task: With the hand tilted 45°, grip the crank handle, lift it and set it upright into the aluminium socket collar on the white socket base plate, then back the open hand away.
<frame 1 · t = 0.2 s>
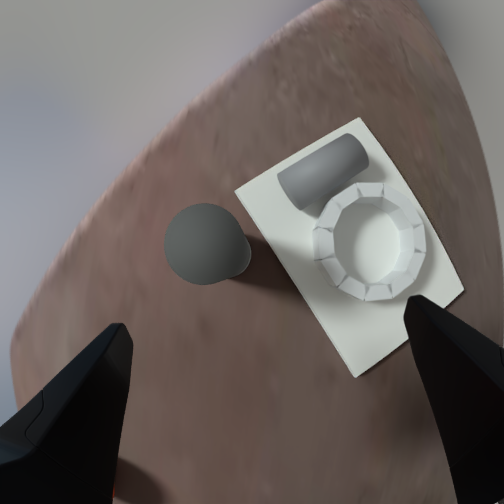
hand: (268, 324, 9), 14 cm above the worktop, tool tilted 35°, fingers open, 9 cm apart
crank handle: (227, 253, 24), on the worktop
white socket base plate: (360, 244, 23), on the worktop
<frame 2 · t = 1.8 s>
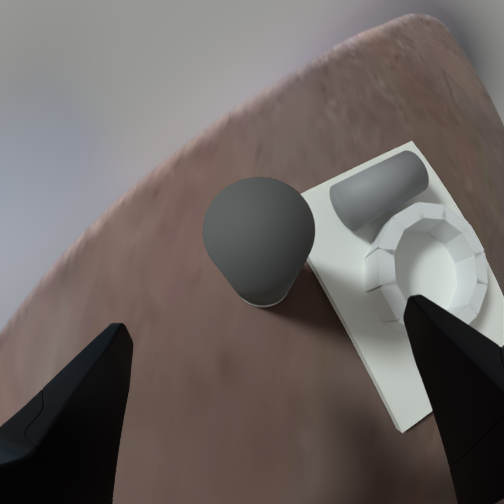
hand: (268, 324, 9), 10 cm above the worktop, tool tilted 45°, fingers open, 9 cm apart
crank handle: (262, 278, 20), on the worktop
white socket base plate: (414, 278, 19), on the worktop
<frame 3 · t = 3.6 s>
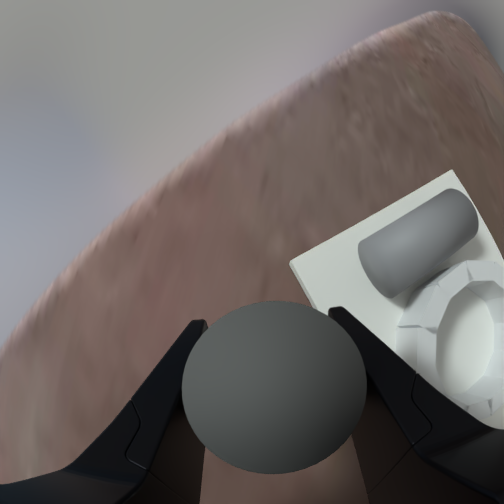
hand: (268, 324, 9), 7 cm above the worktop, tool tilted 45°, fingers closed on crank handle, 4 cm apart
crank handle: (269, 352, 15), on the worktop, touching gripper
white socket base plate: (448, 342, 15), on the worktop
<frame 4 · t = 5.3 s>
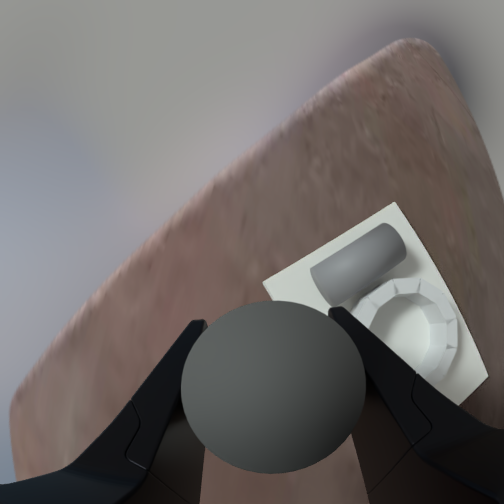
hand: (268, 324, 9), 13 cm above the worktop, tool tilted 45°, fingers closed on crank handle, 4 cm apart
crank handle: (269, 352, 15), point 6 cm above the worktop, touching gripper
white socket base plate: (389, 338, 21), on the worktop
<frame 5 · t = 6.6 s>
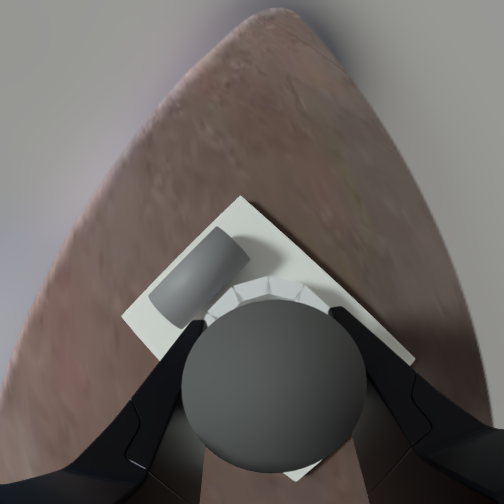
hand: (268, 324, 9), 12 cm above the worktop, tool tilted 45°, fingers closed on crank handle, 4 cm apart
crank handle: (269, 351, 15), point 5 cm above the worktop, touching gripper
white socket base plate: (269, 344, 20), on the worktop
when the fingers open (9 cm above the worktop, at t = 7.4 s): crank handle drops 1 cm, resting on white socket base plate.
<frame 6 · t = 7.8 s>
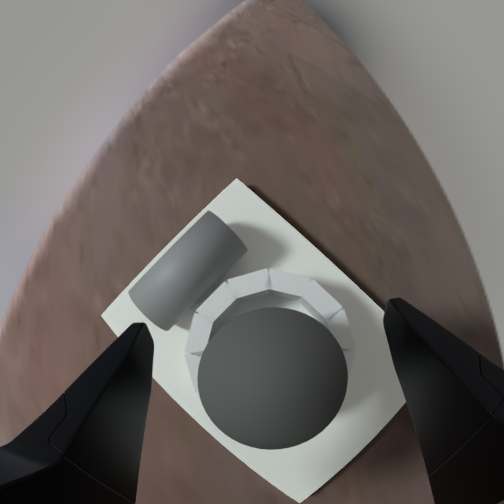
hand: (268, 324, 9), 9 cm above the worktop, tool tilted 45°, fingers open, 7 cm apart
crank handle: (269, 350, 17), point 1 cm above the worktop, touching white socket base plate
white socket base plate: (269, 348, 18), on the worktop
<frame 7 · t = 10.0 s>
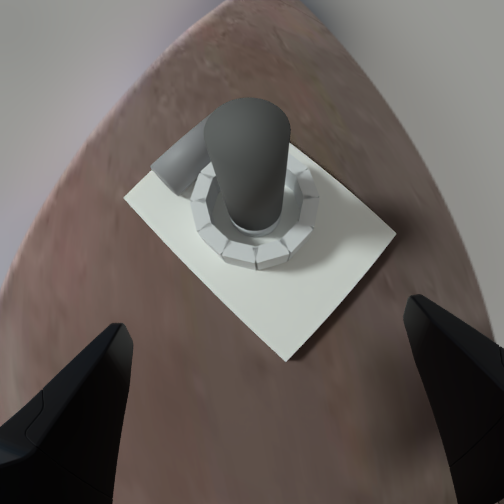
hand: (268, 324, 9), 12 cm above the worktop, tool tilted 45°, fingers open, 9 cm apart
crank handle: (255, 212, 22), point 1 cm above the worktop, touching white socket base plate
white socket base plate: (256, 217, 23), on the worktop
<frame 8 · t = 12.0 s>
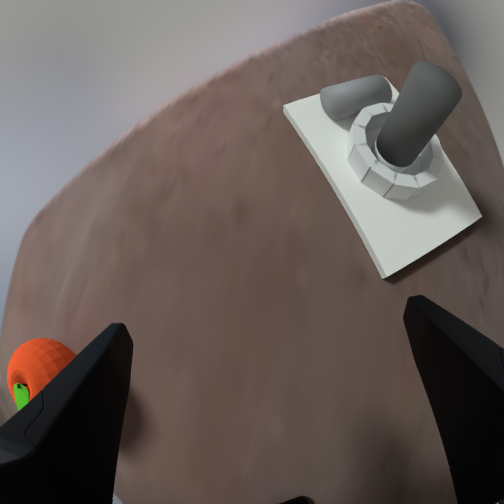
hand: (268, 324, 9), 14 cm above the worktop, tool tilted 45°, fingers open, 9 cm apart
clementine: (72, 383, 22), on the worktop
crank handle: (390, 157, 24), point 1 cm above the worktop, touching white socket base plate
white socket base plate: (386, 162, 25), on the worktop
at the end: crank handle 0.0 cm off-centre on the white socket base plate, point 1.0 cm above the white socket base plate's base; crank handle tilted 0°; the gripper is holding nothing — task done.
